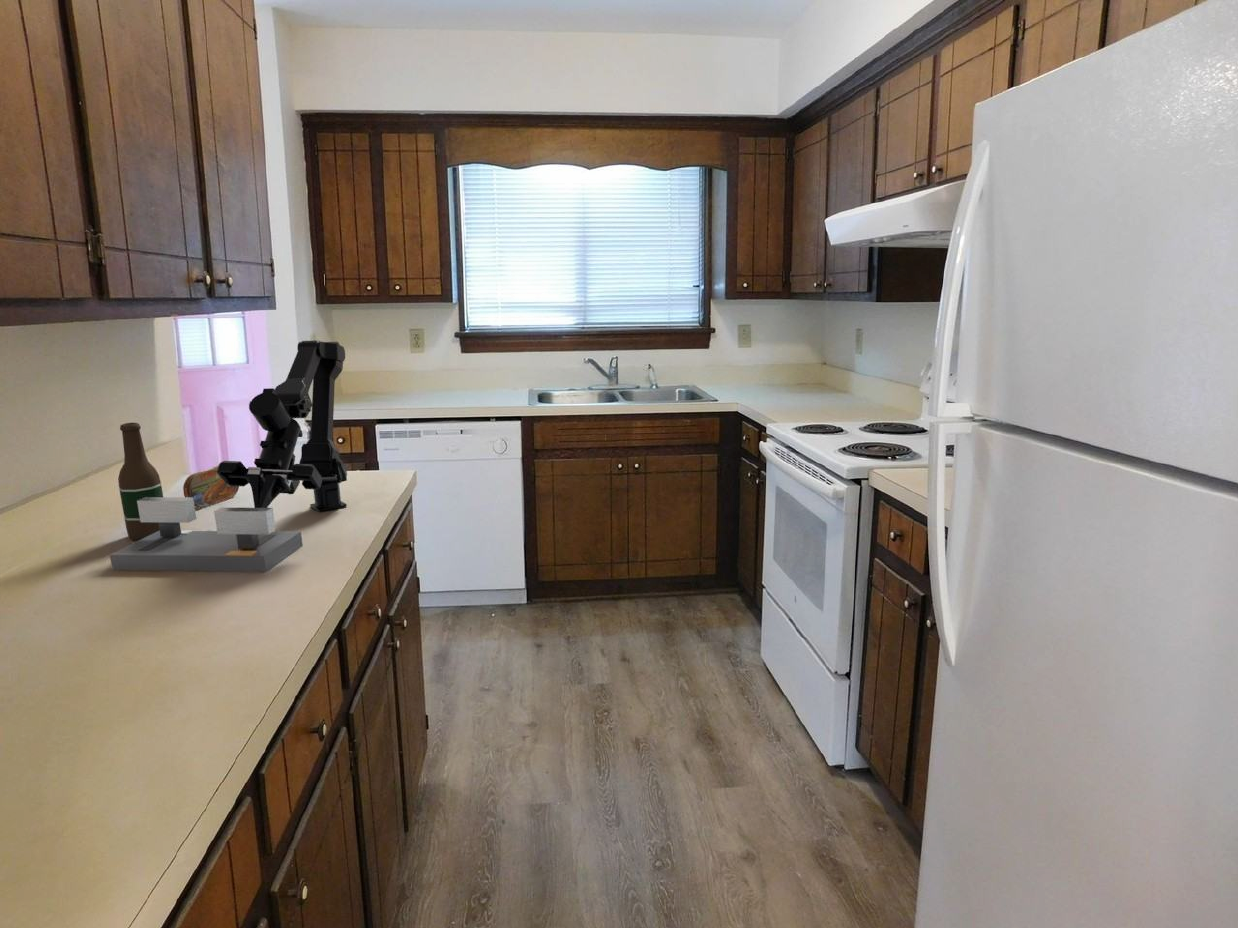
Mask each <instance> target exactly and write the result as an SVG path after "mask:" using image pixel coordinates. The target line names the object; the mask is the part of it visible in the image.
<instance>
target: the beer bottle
mask: <svg viewBox="0 0 1238 928" xmlns="http://www.w3.org/2000/svg"><path fill="white" fill-rule="evenodd" d="M141 429H142V427H141V424H140V423H139V422H126V423H122V424H120V427H119V430H120V431H121V433H122V434H121V435H122V444H123V455H124V459H123V460H124V461H123V462H124V463H123V464H122V467H121V468H120V470H119V474H118V478H117V479H118V489H119V494H120V501H121V507H122V511H123V517H124V518H123V519H124V524H125V530H126V532H127V536H128V537H129V539H130V540H131V541H132V542H133V541H135V542H137V541H139V540H141V539H143V538H145V537H147V536H149V535H151V534H153V533H155V532H157V531H160V530H159V524H158V522H141V521H140V516H139V510H138V504H137V500H140V499H142V498H145V497H164V494H163V493H164V492H163V487H162V483H161V482H162V481H161V478H160V475H159V473H158V471H157V469H156V467H154V465H152V464H151V462H150V461H148V458H147V457H148V456H147V454H146V451H145V448H144V443H143V439H142V434H141V431H140V430H141Z"/></svg>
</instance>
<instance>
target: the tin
mask: <svg viewBox="0 0 1238 928" xmlns="http://www.w3.org/2000/svg"><path fill="white" fill-rule="evenodd" d="M217 468H218V465H216V466H214V467H210V468H207V469H204V470H201V471H198V472H194V473H191V474H190V475H189V476H188V477H186V479H185V481H184V483H183V486H182V489H183V497H193V500H194V507H195V508H202V509H203V508H205V509H206V508H208V506H209V507H211V505H212V506H214V505H217V504H219V502H220V503H222V502H225V501H227V500H231V499H232V498H234V497H235V496H236V495H237V493H238V490H239V489H240V488H239V487H240V486H230V485H227V484H226V483H225V481H224V480H223V479H222V478H221V477H220V476H219V475H218V473H217V472H216V471H217ZM216 503H217V504H216Z"/></svg>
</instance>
